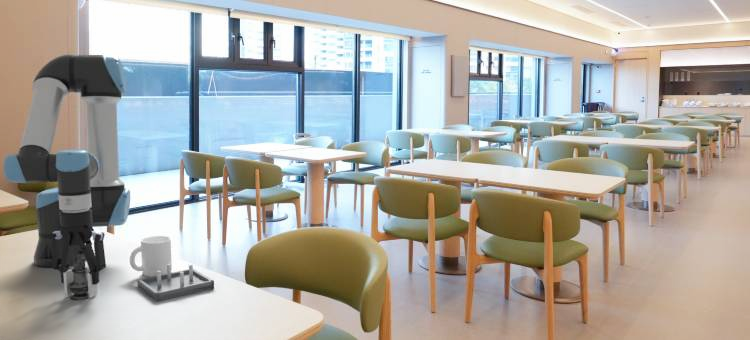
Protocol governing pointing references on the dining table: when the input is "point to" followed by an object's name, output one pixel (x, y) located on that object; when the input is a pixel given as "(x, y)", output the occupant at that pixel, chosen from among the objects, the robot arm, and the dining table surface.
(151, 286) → the tray
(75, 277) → the dark grey tall piece
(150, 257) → the mug
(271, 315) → the dining table surface
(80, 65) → the robot arm
